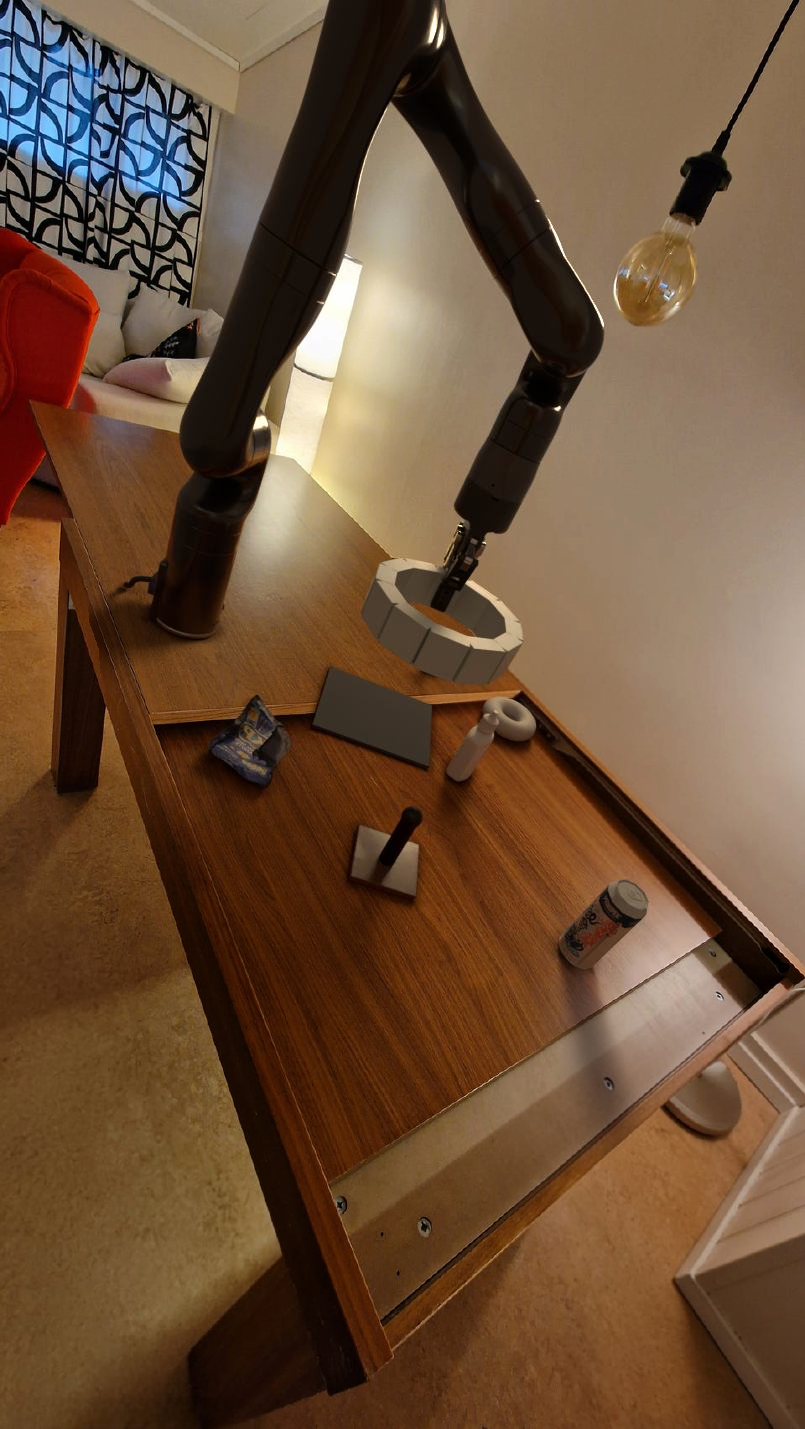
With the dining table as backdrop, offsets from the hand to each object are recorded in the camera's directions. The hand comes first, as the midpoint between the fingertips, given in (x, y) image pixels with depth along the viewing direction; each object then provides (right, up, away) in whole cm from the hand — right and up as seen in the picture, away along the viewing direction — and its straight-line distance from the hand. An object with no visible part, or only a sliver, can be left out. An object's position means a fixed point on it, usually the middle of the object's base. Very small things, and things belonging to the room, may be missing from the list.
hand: (437, 603), depth 85 cm
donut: (+13, -17, +24) cm, 32 cm away
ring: (-1, -5, -7) cm, 9 cm away
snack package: (-24, -20, -6) cm, 32 cm away
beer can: (+16, -44, -10) cm, 48 cm away
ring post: (-7, -33, -11) cm, 35 cm away
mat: (-9, -15, +11) cm, 21 cm away
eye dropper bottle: (+4, -24, +9) cm, 26 cm away
